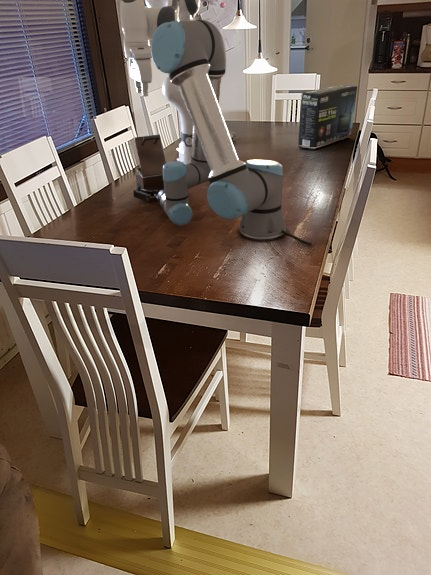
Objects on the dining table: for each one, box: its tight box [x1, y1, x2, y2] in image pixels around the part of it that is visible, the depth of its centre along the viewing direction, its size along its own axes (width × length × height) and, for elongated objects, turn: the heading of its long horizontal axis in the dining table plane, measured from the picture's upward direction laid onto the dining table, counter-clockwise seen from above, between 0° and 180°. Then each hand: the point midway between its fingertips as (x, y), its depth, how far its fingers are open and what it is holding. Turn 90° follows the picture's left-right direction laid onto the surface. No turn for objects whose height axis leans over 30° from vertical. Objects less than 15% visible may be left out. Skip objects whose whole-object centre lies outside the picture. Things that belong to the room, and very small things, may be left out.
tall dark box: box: [133, 134, 167, 177], centre depth 170 cm, size 15×10×8 cm
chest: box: [134, 166, 164, 203], centre depth 182 cm, size 14×10×10 cm
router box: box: [297, 84, 358, 151], centre depth 238 cm, size 36×11×27 cm, turn 134°
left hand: (142, 94), depth 165 cm, fingers open, 8 cm apart
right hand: (155, 183), depth 177 cm, fingers open, 13 cm apart
